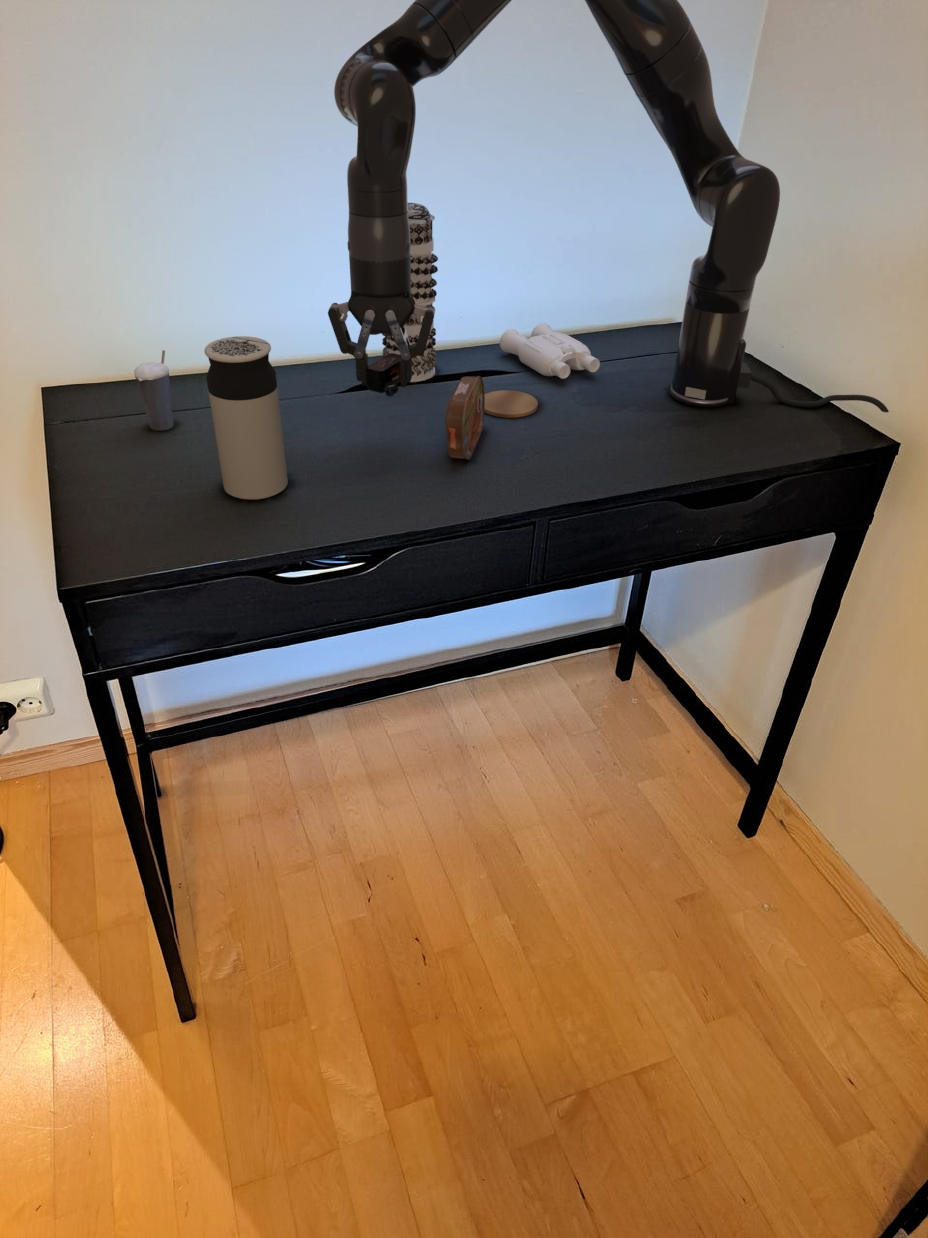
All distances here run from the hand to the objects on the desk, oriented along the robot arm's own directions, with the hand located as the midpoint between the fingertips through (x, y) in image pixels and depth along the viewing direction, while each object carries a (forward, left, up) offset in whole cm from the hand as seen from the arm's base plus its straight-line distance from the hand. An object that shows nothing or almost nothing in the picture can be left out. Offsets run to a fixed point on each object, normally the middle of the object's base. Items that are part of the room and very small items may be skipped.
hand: (384, 383), depth 120 cm
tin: (-11, 0, -9) cm, 14 cm away
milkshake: (+32, -3, -9) cm, 33 cm away
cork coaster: (-17, -14, -8) cm, 23 cm away
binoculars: (-24, -31, -9) cm, 40 cm away
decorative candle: (-1, -26, -9) cm, 27 cm away
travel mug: (+15, +14, -9) cm, 22 cm away
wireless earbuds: (-1, 0, -1) cm, 1 cm away
